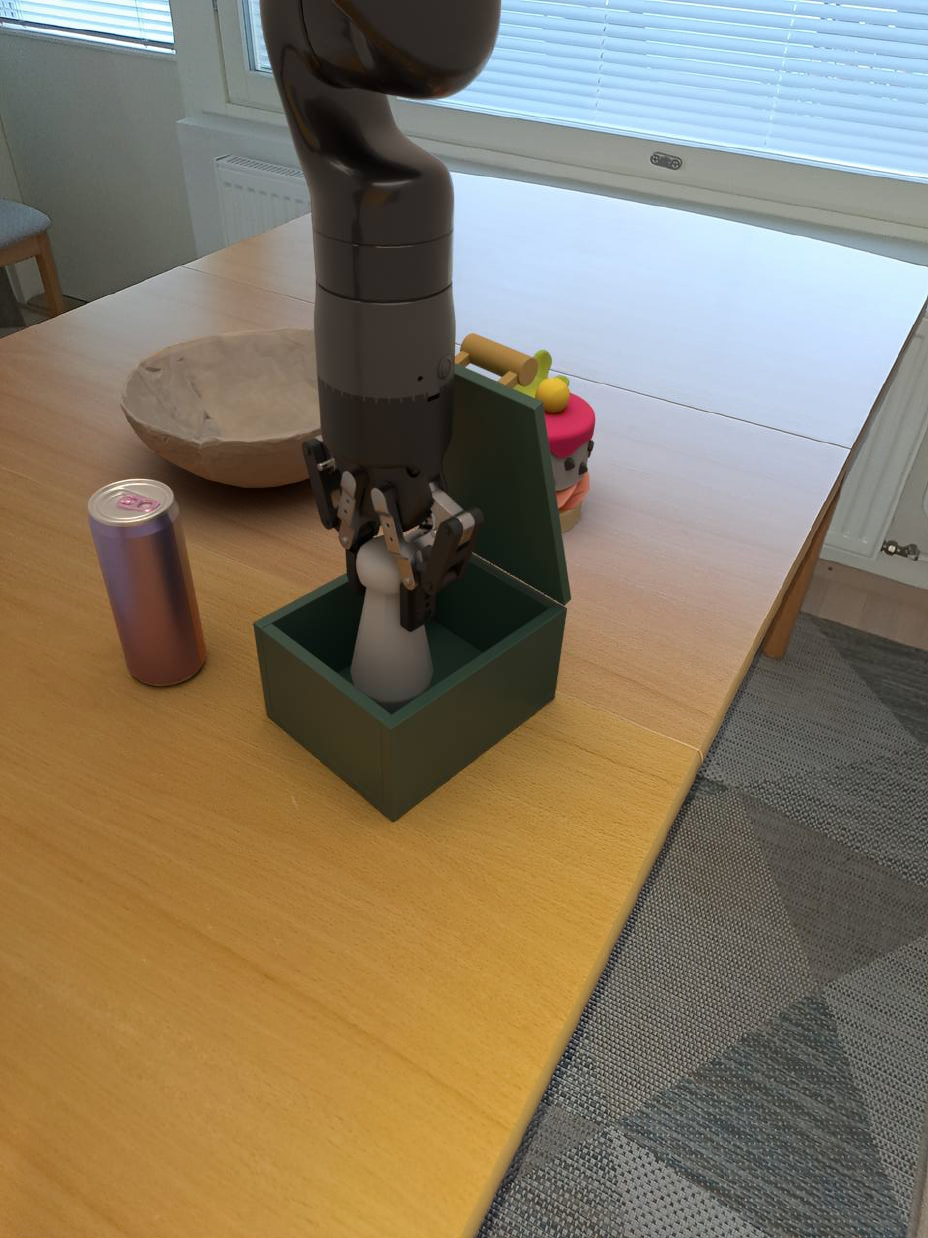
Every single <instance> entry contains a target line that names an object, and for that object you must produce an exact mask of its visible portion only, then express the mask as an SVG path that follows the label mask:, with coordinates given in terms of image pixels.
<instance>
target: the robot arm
mask: <svg viewBox="0 0 928 1238" xmlns="http://www.w3.org/2000/svg"><path fill="white" fill-rule="evenodd" d="M258 3H259V6H258V7H259V18H260V19H259V20H260V26H261V31H262V38H263V42H264V46H265V50H266V54H267V58H268V62H269V66H270V69H271V72H272V75H273V79H274V83H275V86H276V90H277V93H278V96H279V99H280V103H281V106H282V109H283V113H284V117H285V119H286V123H287V127H288V129H289V134H290V137H291V140H292V143H293V147H294V150H295V153H296V156H297V159H298V162H299V165H300V167H301V170H302V173H303V176H304V180H305V182H306V185H307V188H308V193H309V199H310V216H311V219H310V220H311V227H312V243H313V257H314V258H313V259H314V273H315V295H314V306H313V308H314V309H313V311H314V312H313V328H314V338H315V352H316V366H317V381H318V395H319V409H320V424H321V435H320V436H317V437H315V438H312V439H310V440H307V441H305V442H303V443H302V451H303V455H304V459H305V463H306V467H307V470H308V474H309V478H308V479H309V482H310V485H311V489H312V493H313V497H314V500H315V504H316V508H317V512H318V515H319V519H320V522H321V524H322V527H324V528H325V529H326V530H327V531H331V530H332V529H334V530H335V531H336V532H337V533H338V536H337V537H338V541H339V544H340V545H341V547H342V548H343V549H344V550H345V553H344V554H345V568H346V569H345V570H346V573H347V578H348V581H349V590H350V592H351V593H353V594H354V595H356V596H357V597H362V596H364V595H365V593H366V587H365V586H364V585H363V584H361V582H360V579H359V576H358V573H357V568H356V560H357V554H358V552H359V550H360V547H361V546H362V545H364V544H365V543H366V542H368V541H369V540H371V539H372V538H374V537H377V536H379V532H380V528H381V529H382V532H383V533H382V534H383V535H384V537H385V541H386V546H387V550H388V552H389V553H390V554H392V555H395V556H396V559H397V563H398V567H399V572H400V576H401V580H402V583H401V584H400V626H401V627H402V628H404V629H405V630H407V631H408V632H413V631H414V630H416V629H418V628H419V627H421V626H422V625H424V624H426V623H427V622H429V621H430V620H432V619H433V618H434V616H435V606H436V603H435V602H436V593H437V592H439V591H440V590H441V589H443V588H444V587H446V586H448V585H449V584H451V583H453V582H456V581H458V580H459V579H461V578H462V577H463V575H464V573H465V570H466V567H467V565H468V562H469V559H470V557H471V554H472V553H473V552H472V551H473V549H474V546H475V543H476V541H477V538H478V535H479V533H480V530H481V527H482V525H483V522H484V516H483V513H482V512H481V510H480V509H479V508H478V507H476V506H471V507H469V508H467V509H465V510H464V509H462V508H461V507H460V506H459V505H458V504H457V503H456V502H455V501H454V500H453V499H452V498H451V497H449V496H448V495H447V491H448V487H447V482H446V479H445V476H444V473H443V468H442V461H443V458H444V455H445V453H446V450H447V448H448V446H449V444H450V442H451V439H452V434H453V403H454V370H455V356H456V339H457V337H456V336H457V327H456V326H457V321H456V311H455V304H454V303H455V302H454V293H453V291H454V289H453V288H454V285H453V278H454V277H453V275H454V245H455V244H454V243H455V242H454V241H455V240H454V239H455V238H454V237H455V188H454V182H453V177H452V174H451V172H450V170H449V168H448V167H447V165H446V164H445V162H443V161H442V160H441V159H440V158H439V157H437V156H436V155H434V154H433V153H431V152H430V151H428V150H427V149H425V148H423V147H421V146H419V145H418V144H417V143H415V142H413V140H411V139H410V138H408V137H407V136H406V135H405V134H404V132H403V131H402V130H401V129H400V128H399V126H398V124H397V122H396V119H395V115H394V112H393V109H392V106H391V102H390V99H389V96H391V97H398V98H403V99H408V100H414V101H439V100H442V99H447V98H450V97H453V96H455V95H457V94H459V93H461V92H463V91H464V90H465V89H466V88H467V87H469V86H471V85H472V83H474V82H475V80H476V79H478V78H479V76H480V75H481V74H482V73H483V71H484V69H485V68H486V67H487V65H488V63H489V61H490V59H491V57H492V55H493V52H494V50H495V47H496V45H497V42H498V38H499V34H500V27H501V16H502V0H258ZM336 490H338V492H339V496H340V500H339V504H337V505H334V503H333V499H332V493H333V492H334V491H336ZM415 528H416V529H415ZM413 529H415V530H413ZM412 530H413V531H412ZM409 531H411V532H409ZM407 532H409V533H407ZM404 533H407V534H405V535H404ZM419 550H421V554H422V559H423V561H422V562H420V563H419V564H417V565H416V562H415V553H416V552H417V551H419Z"/></svg>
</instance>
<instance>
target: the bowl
mask: <svg viewBox="0 0 928 1238" xmlns="http://www.w3.org/2000/svg"><path fill="white" fill-rule="evenodd" d="M118 402H119V405H120V408H121V410H122V412H123V414H124V415H125V419H126V420H127V423H129V425H130V427H131V428H132V430H133V431H134V433H135V434H136V435H137V437H138V438H139V439H140V440H141V442H142V443H144V444H145V445H146V446H147V447H149V449H151V450H152V451H154V452H155V453H156V454H158V455H159V456H160V457H161V458H163V459H165V460H166V461H168V462H170V463H172V464H173V465H175V466H177V467H179V468H181V469H183V470H186V471H188V472H190V473H192V474H194V475H196V476H198V477H201V478H203V479H205V480H208V481H213V482H216V483H221V484H224V485H230V486H234V487H239V488H245V489H250V488H251V489H265V488H277V487H281V486H286V485H289V484H295V483H298V482H303V481H305V480H309V479H310V478H309V474H308V470H307V467H306V463H305V459H304V455H303V451H302V443H303V442H305V441H307V440H310V439H312V438H315V437H317V436H320V435H321V424H320V409H319V395H318V381H317V366H316V352H315V338H314V327H313V328H311V329H309V330H308V329H307V328H303V327H297V326H285V327H279V328H271V329H269V328H267V329H264V328H263V329H261V328H260V329H247V330H238V331H237V330H236V331H230V332H224V333H217V334H211V335H203V336H199V337H193V338H188V339H185V340H181V341H179V342H176V343H173V344H170V345H167V346H165V347H162V348H160V349H157V350H155V351H153V352H151V353H149V354H148V355H145V356H144V357H142V358H140V359H139V360H138V361H137V362H136V363H135V365H134V369H131V370H130V371H129V372H128V373H126V375H125V377H124V378H123V380H122V381H121V384H120V388H119V393H118Z"/></svg>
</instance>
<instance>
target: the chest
mask: <svg viewBox="0 0 928 1238" xmlns="http://www.w3.org/2000/svg"><path fill="white" fill-rule="evenodd" d="M364 599H365V595H364V596H362V597H357V596H356V595H354V594H353V593H351V592H350V590H349V581H348V578H347V572H345V573H344V574H341V575H339V576H338V577H336V578H334V579H332V580H330V581H328V582H326V583H325V584H323V585H320V586H319V587H316V588H314V589H313V590H312V591H310V592H308V593H306V594H304V595H302V596H300V597H299V598H296V599H295V600H293V601H291V602H289V603H287V604H286V605H284V606H281V607H280V608H278V609H276V610H274V611H272V612H270V613H268V614H267V615H265V616H263V617H261V618H259V619H258V620H255V621H253V622H252V626H253V632H254V639H255V647H256V652H257V659H258V667H259V674H260V681H261V687H262V693H263V702H264V707H265V715H266V716H267V717H268V718H269V719H271V720H272V721H273V722H274V723H275V724H276V725H278V726H279V727H280V728H281V729H282V730H283V731H284V732H286V733H287V734H288V735H289V736H291V737H292V738H293V739H294V740H295V741H296V742H298V743H299V744H300V745H301V746H302V747H303V748H305V749H306V750H307V751H308V752H309V753H311V754H312V755H313V756H314V757H315V758H316V759H318V760H319V761H320V763H322V764H324V765H325V766H326V767H327V768H328V769H329V770H331V771H332V772H333V774H335V775H337V776H338V777H339V778H340V779H341V780H342V781H343V782H345V783H346V784H347V785H348V786H349V787H351V788H352V789H353V790H354V791H355V792H357V793H358V794H359V795H360V796H361V797H362V798H364V799H365V801H367V802H368V803H370V804H371V805H372V806H373V807H374V808H376V809H377V810H378V811H379V812H380V813H381V814H382V815H384V816H385V817H386V818H387V819H388V820H389V821H390V822H392V823H395V822H396V821H397V820H398V819H400V818H401V817H402V816H404V815H405V814H406V813H407V812H409V811H410V810H411V809H413V808H414V807H416V806H417V805H418V804H420V802H422V801H423V800H424V799H426V798H427V797H428V796H430V795H431V794H432V793H433V792H435V791H436V790H437V789H439V788H440V787H442V786H443V785H444V784H445V783H447V782H448V781H449V780H451V778H453V777H454V776H456V775H457V774H458V773H460V772H461V771H462V770H463V769H464V768H466V767H468V766H469V765H470V764H471V763H473V762H474V761H475V760H476V759H478V758H479V757H480V756H482V755H483V754H485V753H486V752H487V751H488V750H489V749H491V748H492V747H493V746H495V745H496V744H497V743H499V742H500V741H501V740H503V739H504V738H505V737H507V736H508V735H510V733H512V732H513V731H514V730H516V729H517V728H518V727H519V726H521V725H522V724H524V722H526V721H527V720H529V719H530V718H531V717H532V716H534V715H535V714H536V713H538V712H539V711H540V710H542V709H543V708H544V707H546V706H547V705H548V704H550V703H551V702H552V701H553V700H554V699H555V698H556V691H557V686H558V678H559V672H560V665H561V657H562V650H563V641H564V636H565V635H564V634H565V629H566V620H567V612H568V607H567V606H566V605H565V606H564V605H562V604H560V603H559V602H557V601H555V600H553V599H552V598H550V597H548V596H547V595H545V594H543V593H541V592H540V591H538V590H536V589H534V588H533V587H531V586H529V585H528V584H526V583H524V582H522V581H521V580H519V579H517V578H516V577H514V576H512V575H510V574H509V573H507V572H505V571H504V570H502V569H500V568H498V567H497V566H495V565H493V564H492V563H490V562H488V561H486V560H485V559H483V558H481V557H480V556H478V555H476V554H474V553H473V552H472V554H471V557H470V559H469V562H468V565H467V567H466V570H465V573H464V575H463V577H462V578H461V579H459V580H458V581H456V582H453V583H451V584H449V585H448V586H446V587H444V588H443V589H441V590H440V591H439V592H437V593H436V602H435V603H436V606H435V616H434V618H433V619H432V620H430V621H429V622H427V623H426V624H424V626H425V631H426V636H427V640H428V645H429V650H430V654H431V659H432V664H433V668H434V672H433V676H432V679H431V682H430V686H429V688H428V689H427V691H426V692H425V693H423V694H422V695H420V696H419V697H417V698H416V699H414V700H413V701H411V702H410V703H408V704H407V705H405V706H404V707H402V708H401V709H399V710H398V711H396V712H395V713H394V714H392V715H391V714H390V713H389V712H388V711H386V710H385V709H384V708H382V707H381V706H380V705H378V704H377V703H376V702H374V701H373V700H372V699H370V698H369V697H368V696H366V695H365V694H364V693H362V692H361V691H360V690H359V689H357V688H356V687H355V686H354V683H353V680H352V676H351V672H350V670H351V665H352V660H353V655H354V650H355V645H356V640H357V635H358V630H359V625H360V620H361V615H362V610H363V605H364Z"/></svg>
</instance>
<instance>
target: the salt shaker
mask: <svg viewBox="0 0 928 1238" xmlns="http://www.w3.org/2000/svg"><path fill="white" fill-rule="evenodd" d="M422 561H423V559H422V554H421V550H419V551H417V552H416V553H415V562H416V565H417V564H419V563H420V562H422ZM356 568H357V573H358V576H359V579H360V582H361V584H363V585H364V586H365V587H366V593H365V599H364V605H363V610H362V615H361V620H360V625H359V630H358V635H357V640H356V645H355V650H354V655H353V660H352V665H351V670H350V672H351V676H352V680H353V683H354V686H355V687H356V688H357V689H359V690H360V691H361V692H362V693H364V694H365V695H366V696H368V697H369V698H370V699H372V700H373V701H374V702H376V703H377V704H378V705H380V706H381V707H382V708H384V709H385V710H386V711H388V712H389V713H390V714H391V715H392V714H394V713H395V712H396V711H398V710H399V709H401V708H402V707H404V706H405V705H407V704H408V703H410V702H411V701H413V700H414V699H416V698H417V697H419V696H420V695H422V694H423V693H425V692H426V691H427V689H428V688H429V686H430V682H431V679H432V676H433V672H434V668H433V664H432V659H431V654H430V650H429V645H428V640H427V636H426V631H425V626H424V625H422V626H421V627H419V628H418V629H416V630H414V631H413V632H408V631H407V630H405V629H404V628H402V627H401V626H400V584H401V583H402V580H401V576H400V572H399V567H398V563H397V559H396V556H395V555H392V554H390V553H389V552H388V550H387V546H386V541H385V537H384V534H382V535H377V536H374V538H372V539H371V540H369V541H368V542H366V543H365V544H364V545H362V546H361V547H360V550H359V552H358V554H357V560H356Z"/></svg>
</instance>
